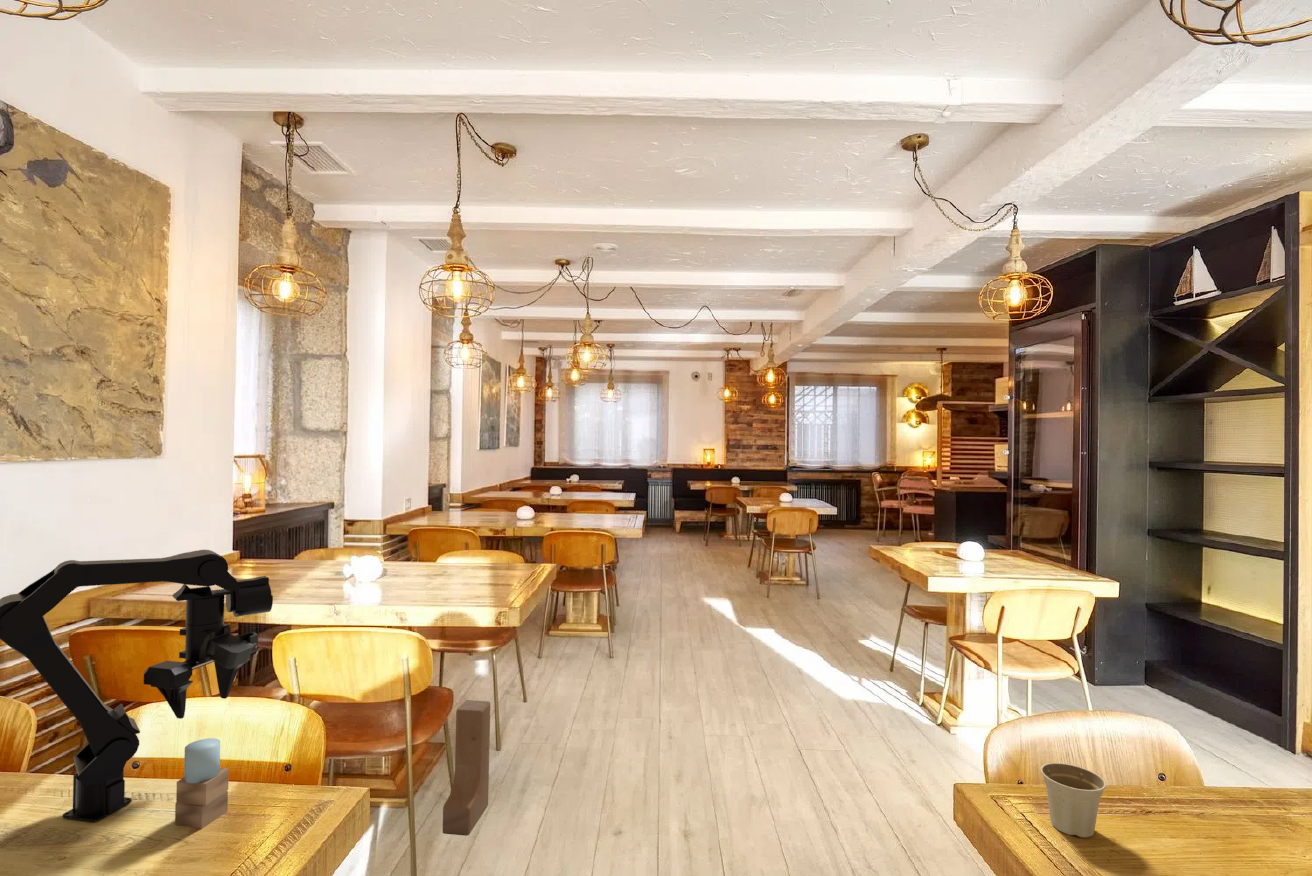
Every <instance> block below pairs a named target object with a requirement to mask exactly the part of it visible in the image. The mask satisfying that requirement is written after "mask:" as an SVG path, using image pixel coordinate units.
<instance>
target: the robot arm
mask: <svg viewBox="0 0 1312 876" xmlns="http://www.w3.org/2000/svg"><path fill="white" fill-rule="evenodd" d="M159 582H160V583H162V582H163V583H164V582H166V583H173V584H181V585H182V586H181V587H180V588H179V589H178V590H176V592H174V593H173V594H172V598H174V599H175V601H176V602H182V601H185V605H186V606H185V627H182V628H179V636H185V639H184V640H185V642H184V643H185V645H184V646H185V647H184V650H182V651H179V653H178V658H179V659H185V660H184V661H176V660H174V661H173V660H164V661H162V662H159V663H156V664H153V665H150V666H148V667H147V668H146V669H145V670H144V672H143V685H148V686H150V687H151V688H157V689H158V691H159V693H161V695H162V696H163V697H164V698H165V701H166V702H167V703H168V705H169V708H170V709H171V710H172V712H173V714H174V715H175V717H176V719H179V720H181V719H184V717H185V712H186V704H187V690H188V688H189V687H190V686H191V685H192V684H193V683H194V680H190V679H191V677H192V676H193V670H194V671H195V670H196V669H199V668H201V667H204V666H207V665H210V664H212V663H214V668H215V669H214V670H215V676H216V681H217V687H218V692H219V696H220V699H225V700H226V699H227V698H228V697H229V695H230V692H231V689H232V686H233V684H234V681H235V679H236V676H237V674H238V673H239V670H240V668H241V667H242V666H243V665H244V664H247V663H248V662H249V661H250V660H251V659H252V656H254V655H256V654H257V651H258V649H259V648H258V645H259V637H258V636H259V635H258V633H256V632H255V631H253V630H252V631H251V630H250V631H248V632H245V633H243V634H242V635H241V634H237V635H233V634H232V632H231V631H232V630H231V629H232V628H231V626H230V624H227V623H225V609H226V611H227V613H232V615H233V616H234V617H235V618H237V617H238V618H239V617H243V616H251V615H257V614H264V613H270V612H272V611H271V610H272V608H273V599H274V597H273V594H272V589H271V585H270V578H269V577H268V576H266V575H262V576H261V575H260V576H256V577H252V578H244V579H237V578H236V577H234V576H233V575H231V573H230V572H229V563H228V562H227V560H226V559H225V558H224V557H223V556H222V555H220V554H218V553H217V552H215V551H213V550H210V549H199V550H192V551H187V552H182V553H178V554H175V555H172V556H171V555H170V556H167V557H156V558H154V557H153V558H139V559H138V558H134V559H133V558H132V559H129V558H128V559H107V560H106V559H105V560H101V559H99V560H82V561H81V560H76V559H75V560H74V559H70V560H64V561H63V562H60V563H59V564H57V566H56V567H55V568H53V569H52V570H51V571H49V572H47V574H45V575H43V576H41V577H40V578H38V579H36V580H35V581H34V582H32V583H30V584H29V585H28V586H26V587H25V588H23V589H22V590H21V591H19V592H18V593H14V594H13V593H12V594H9V595H6V596H3V597H2V598H0V640H1V642H3V643H4V644H6V645H7V646H9V648H11V649H12V650H14V651H16V652H18V653H19V654H20V655H22V656H24V657H25V658H26V659H27V660H29V662H30V663H31V665H32V666H33V667H34V668H35V670H36V671H37V672H38V674H39V675H40V676H41V677H42V679H44V680H45V682H46V683H47V685H48V686H49V687H50V689H52V691H53V692H54V693H55V695H56V696H57V697H58V698H59V700H60V701H61V702H62V703H63V704H64V706H65V707H66V708H67V710H68V711H69V712H70V714H72V716H73V717H74V718H75V719H76V720H77V722H78V723H79V725H80V726H81V729H82V731H83V734H84V736H85V738H86V740H87V743H86V744H85V745H84V746H83V748H81V749H80V750H79V751H78V752H77V753H76V754H75V755H73V760H74V765H75V769H76V773H74V774H73V777H72V778H73V779H72V780H73V781H72V808H71V809H70V810H68V811H66V812H64V813H63V814H62V818H64V819H70V820H76V821H85V822H90V823H91V822H92V823H96V822H98V821H100V820H102V819H103V818H106V817H107V816H109V815H110V814H112V813H114V812H116V811H117V810H119V809H121V808H123V807H125V806H126V805H128V804H130V803H132V801H133V799H132V797H127V796H126V795H125V794H126V793H125V789H126V788H125V787H126V783H125V779H124V773H125V772H124V771H125V766H126V765H127V764H126V763H127V762H128V761H129V760H131V759H132V758H133V757H134V756H135V754H136V753H137V751H138V749H139V746H140V740H139V736H138V735H137V734H140V733H141V730H140V728H139V726H138V724H137V722H136V720H135V718H133V717H130V716H129V715H128V714H127V711H126V709H125V708H124V706H123V703H119V704H118V705H117V706H116V707H114V708H111V707H110V706H109V705H107V704H106V703H104V702H103V701H102V699H101V698H100V697H99V696H98V694H97V692H95V690H94V689H93V688H92V687H91V685H90V684H89V683H88V681H87V680H86V678H84V676H83V675H82V673H80V671H79V670H78V668H76V665H74V664H73V662H72V661H71V659H70V658H69V657H68V655H66V653H65V652H64V650H63V649H62V648H61V647H60V645H59V644H58V642H56V640H55V639H54V636H53V634H52V632H51V630H50V628H49V625H48V623H47V620H46V619H45V618H46V617H45V615H46V614H48V613H49V612H50V611H52V610H53V609H54V608H55V607H56V606H57V605H58V604H59V603H60V602H61V603H62V601H63V600H65V599H66V597H67V596H68V595H69V594H70V593H72V592H74V590H75V589H77V588H79V587H90V586H91V587H94V586H95V587H96V586H110V585H111V586H112V585H124V584H125V585H128V584H142V583H143V584H145V583H159ZM189 586H197V587H189ZM198 586H199V587H198ZM212 586H217V587H219V588H221V589H212V588H211V587H212Z"/></svg>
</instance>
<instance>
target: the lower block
mask: <svg viewBox="0 0 1312 876" xmlns="http://www.w3.org/2000/svg"><path fill="white" fill-rule="evenodd" d="M228 798H229V790H227V791H225V792H224V793H223V794H221V795H220V796H219V797H217V798H216V799H215V800H213V801H212V802H210V803H209V804H208V805H206V806H201V805H186V804H176V802H175V807H174V808H175V809H174V810H175V812H174V825H175V826H181V827H187V828H194V829H205V828H206V827H207V826H208V825H210V824H211V823H213V822H215V820H216V821H217V820H218V819H219V818H220V817H222V816H224V815H225V814H226V813H228V808H229V806H228V801H229V799H228Z"/></svg>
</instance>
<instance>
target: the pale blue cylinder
mask: <svg viewBox="0 0 1312 876" xmlns="http://www.w3.org/2000/svg"><path fill="white" fill-rule="evenodd" d="M183 760H184V762H183V763H184V764H183V765H184V766H183V767H184V769H183V778H184V781H185V782H187V783H200V782H204V781H208V780H210V779H213V778H215V777H216V776H217V775H218V774H219V773H220V768H221V740H220V739H219V738H215V737H214V738H212V737H210V738H201V739H198V740H194V741H193V742H190V743H188V744H187V745H185V747H184V758H183Z"/></svg>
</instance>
